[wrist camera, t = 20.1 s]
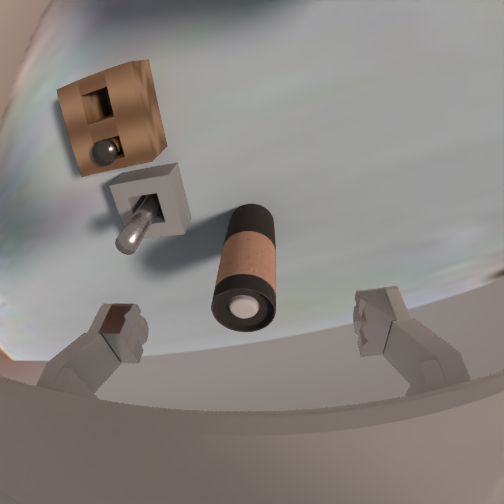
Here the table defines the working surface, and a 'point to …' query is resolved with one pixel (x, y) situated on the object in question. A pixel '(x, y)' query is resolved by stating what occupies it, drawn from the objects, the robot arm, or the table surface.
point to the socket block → (114, 116)
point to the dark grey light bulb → (106, 150)
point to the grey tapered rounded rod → (138, 225)
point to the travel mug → (247, 272)
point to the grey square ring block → (169, 194)
